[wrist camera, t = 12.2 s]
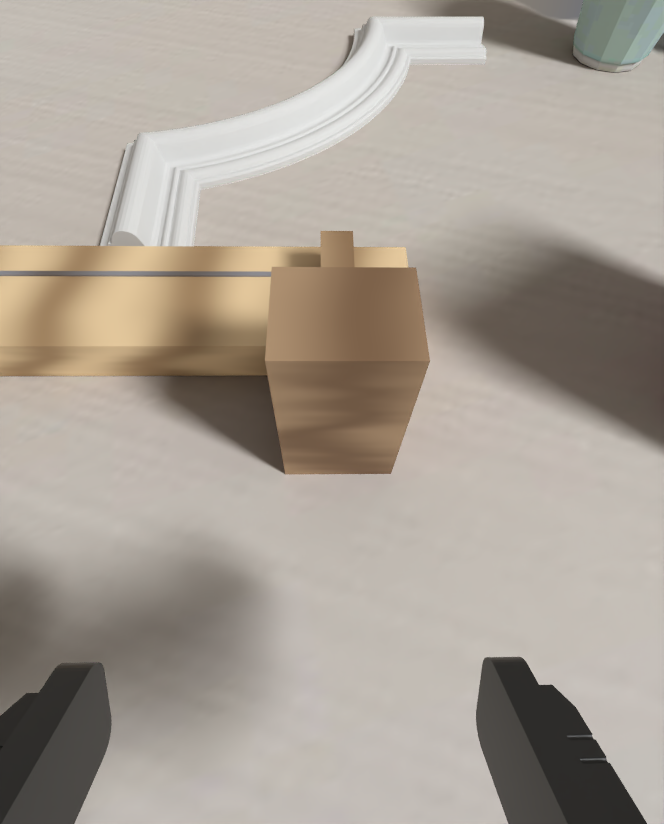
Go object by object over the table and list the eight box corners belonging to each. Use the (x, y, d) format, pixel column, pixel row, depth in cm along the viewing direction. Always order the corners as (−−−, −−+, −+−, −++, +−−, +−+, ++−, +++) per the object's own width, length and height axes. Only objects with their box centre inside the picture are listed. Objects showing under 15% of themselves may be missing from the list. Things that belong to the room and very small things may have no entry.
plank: (-47, 376, 24) (-85, 345, 22) (-1, 279, 27) (-29, 243, 25) (410, 375, 24) (419, 344, 22) (398, 280, 28) (405, 245, 26)
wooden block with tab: (285, 474, 22) (264, 360, 14) (292, 300, 27) (280, 148, 19) (390, 473, 22) (430, 361, 14) (376, 300, 27) (398, 150, 19)
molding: (146, 301, 28) (129, 265, 25) (34, 211, 31) (10, 171, 29) (504, 57, 44) (515, 20, 42) (403, 17, 48) (408, -20, 45)
